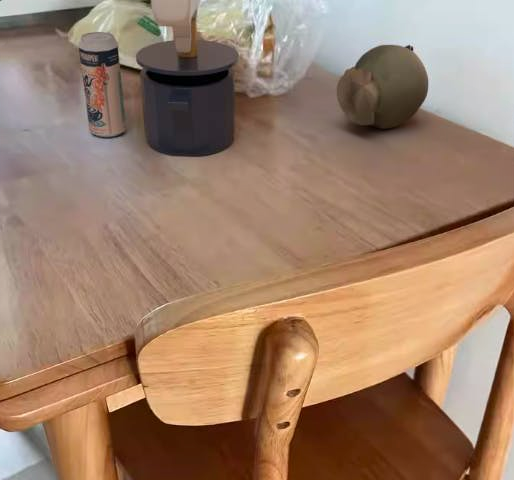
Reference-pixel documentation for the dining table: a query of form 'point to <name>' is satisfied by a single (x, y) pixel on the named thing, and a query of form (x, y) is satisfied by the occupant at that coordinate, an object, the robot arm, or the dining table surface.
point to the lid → (187, 57)
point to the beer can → (102, 84)
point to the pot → (188, 112)
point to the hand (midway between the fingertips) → (186, 46)
